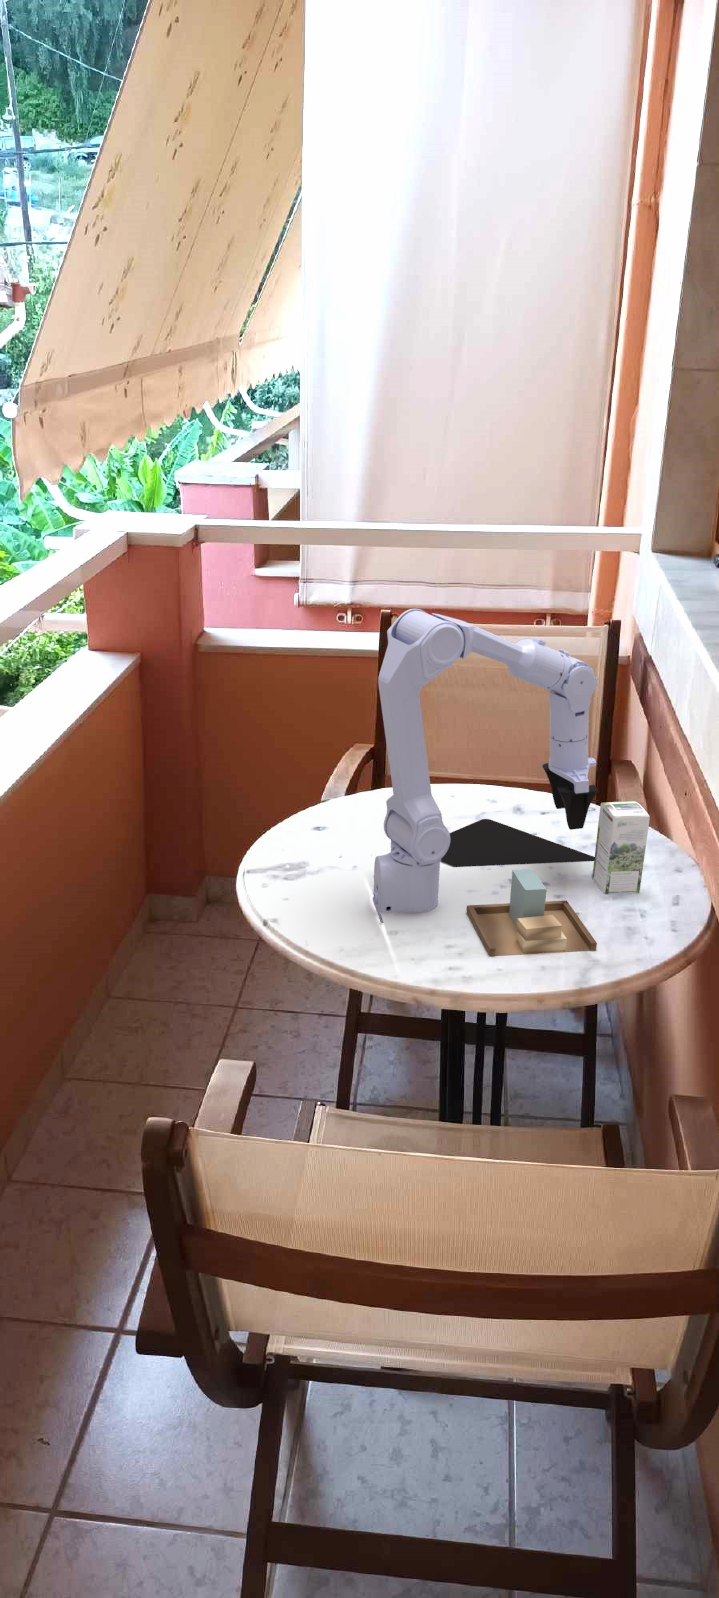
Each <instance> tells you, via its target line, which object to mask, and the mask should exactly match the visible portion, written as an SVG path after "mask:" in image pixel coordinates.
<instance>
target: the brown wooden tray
mask: <svg viewBox="0 0 719 1598" xmlns="http://www.w3.org/2000/svg"><path fill="white" fill-rule="evenodd" d="M509 908H510V902H508V903H507V902H506V903H491V904H490V903H489V904H488V903H487V904H468V905H466V914H467V916H468V918H469V920H470V923H471V924H472V926H473V928H474V930H475V931H476V934H477V936H478V937H479V939H480V942H481V943H482V945H483V947H484V948H485V950H486V953H487V955H488V956H489V957H502V956H504V957H505V956H506V957H507V956H519V955H520V956H521V955H539V954H540V955H541V954H542V955H543V954H554V953H555V954H558V953H575V952H576V953H577V952H591V951H592V952H594V951H597V945H598V942H597V941H596V940H595V938H594V937H593V935H592V934H591V933H590V931H589V930H588V929H587V927H586V925H585V924H584V923H583V921H582V920H581V918H580V917H579V916H578V914H577V913H576V912H575V910H574V909H573V907H572V906H571V905H570V903H569V901H568V900H551V901H550V900H549V901H545V910H544V916H546V915H553V916H554V917H555V918H556V919H557V920H558V921H559V922H560V924H561V925H562V932H563V934H564V935H565V937H566V938H567V941H566V950H563V951H545V952H527V953H523V952H522V950H521V948H520V947H519V945H518V943H517V941H516V936H517V927H516V925H515V923H514V922H513V920H512V918H511V917H510V915H509Z"/></svg>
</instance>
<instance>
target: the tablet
mask: <svg viewBox="0 0 719 1598" xmlns="http://www.w3.org/2000/svg"><path fill="white" fill-rule="evenodd" d="M449 833H450V846H449V848H448V850H447V852H446V854H445V855H444V856H443V857H442V858H441V862H440V864H443V865H446V866H448V867H451V868H468V867H469V868H471V867H472V868H473V867H491V866H512V865H514V866H515V865H537V864H538V865H539V864H557V863H558V864H561V863H579V862H580V863H581V862H582V863H583V862H594V858H595V855H594V856H593V855H591V854H588V853H584V852H582V851H579V850H577V849H574V848H572V847H568V846H565V845H563V844H560V843H557V842H554V841H551V840H549V839H545V838H543V837H539V836H537V835H535V834H532V833H529V832H527V831H524V830H521V829H518V828H515V827H514V826H513V827H512V826H509V825H507V824H504V823H502V822H499V821H496V820H492V819H490V818H483V819H482V818H481V819H479V820H477V821H474V822H473V823H470V824H467V825H466V826H463V827H460V828H458V829H456V830H454V831H452V832H449Z"/></svg>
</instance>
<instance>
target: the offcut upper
mask: <svg viewBox="0 0 719 1598" xmlns="http://www.w3.org/2000/svg"><path fill="white" fill-rule="evenodd" d="M517 931H518V933H519V934H520V935H521V936H522V938H523V939H524V940H525V941H531V940H540V939H549V938H559V937H561V933H562V925H561V924H560V922H559V921H558V920H557V919H556V918H555V917H554V916H553V915H546V916H537V917H527V918H517Z"/></svg>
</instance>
